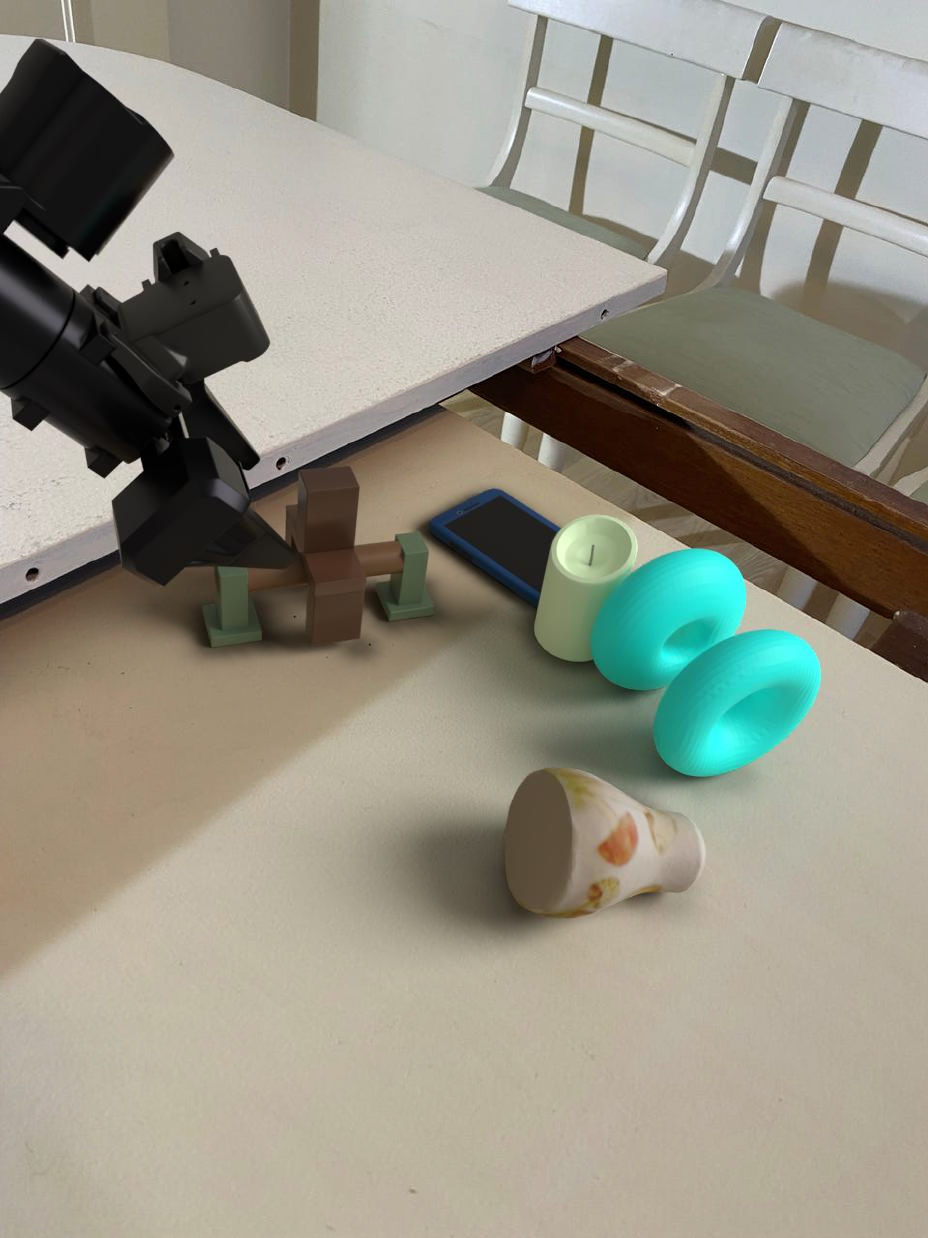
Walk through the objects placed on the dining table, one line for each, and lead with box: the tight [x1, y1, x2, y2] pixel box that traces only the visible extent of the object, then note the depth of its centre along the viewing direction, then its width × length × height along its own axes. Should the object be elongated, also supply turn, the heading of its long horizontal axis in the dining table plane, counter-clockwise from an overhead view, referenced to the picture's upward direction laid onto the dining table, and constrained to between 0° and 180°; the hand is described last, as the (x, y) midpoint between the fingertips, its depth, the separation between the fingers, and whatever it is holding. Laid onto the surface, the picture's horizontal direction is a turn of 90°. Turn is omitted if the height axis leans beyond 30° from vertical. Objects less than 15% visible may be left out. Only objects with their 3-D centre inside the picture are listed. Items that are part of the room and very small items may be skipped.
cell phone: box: [428, 487, 562, 609], centre depth 71 cm, size 7×14×1 cm, turn 47°
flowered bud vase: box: [503, 766, 707, 919], centre depth 51 cm, size 8×10×10 cm
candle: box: [533, 514, 639, 663], centre depth 63 cm, size 5×5×8 cm
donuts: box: [591, 548, 822, 778], centre depth 58 cm, size 10×10×10 cm
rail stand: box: [202, 531, 436, 648], centre depth 63 cm, size 14×3×5 cm, turn 110°
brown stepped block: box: [284, 465, 368, 646], centre depth 60 cm, size 7×3×10 cm, turn 20°
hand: (271, 510), depth 57 cm, fingers open, 9 cm apart
